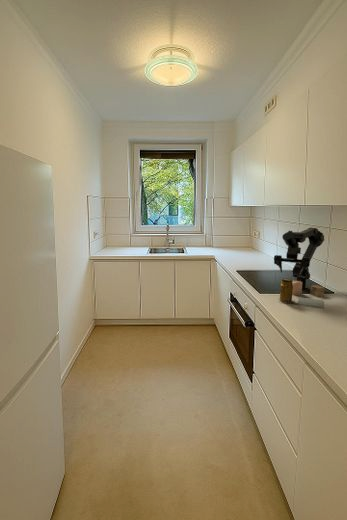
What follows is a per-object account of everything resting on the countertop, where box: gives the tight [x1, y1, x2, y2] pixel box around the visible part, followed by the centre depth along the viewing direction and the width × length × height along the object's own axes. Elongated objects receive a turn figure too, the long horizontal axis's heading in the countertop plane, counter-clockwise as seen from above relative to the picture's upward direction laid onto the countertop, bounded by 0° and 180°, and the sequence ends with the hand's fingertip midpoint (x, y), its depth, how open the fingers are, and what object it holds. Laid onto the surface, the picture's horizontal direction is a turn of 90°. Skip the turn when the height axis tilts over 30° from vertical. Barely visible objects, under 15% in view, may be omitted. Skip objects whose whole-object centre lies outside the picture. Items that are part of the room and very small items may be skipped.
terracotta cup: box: [292, 280, 303, 296], centre depth 178 cm, size 6×6×7 cm
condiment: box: [278, 278, 298, 305], centre depth 163 cm, size 7×8×12 cm
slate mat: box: [297, 296, 324, 309], centre depth 161 cm, size 12×12×1 cm
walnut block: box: [309, 284, 325, 298], centre depth 175 cm, size 5×5×5 cm
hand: (290, 273), depth 169 cm, fingers open, 9 cm apart
